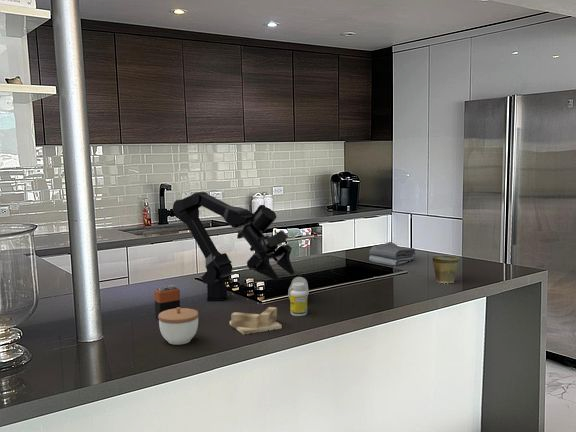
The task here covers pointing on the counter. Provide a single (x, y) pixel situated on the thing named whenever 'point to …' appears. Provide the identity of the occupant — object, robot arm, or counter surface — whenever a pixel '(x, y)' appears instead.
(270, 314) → the v block
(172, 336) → the lidded jar
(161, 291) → the battery
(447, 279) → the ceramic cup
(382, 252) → the towel
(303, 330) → the counter surface
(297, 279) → the beer glass
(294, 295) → the supplement bottle
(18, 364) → the counter surface
